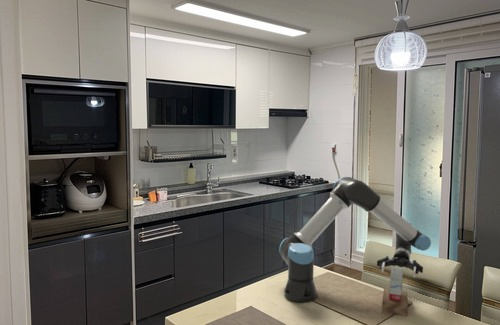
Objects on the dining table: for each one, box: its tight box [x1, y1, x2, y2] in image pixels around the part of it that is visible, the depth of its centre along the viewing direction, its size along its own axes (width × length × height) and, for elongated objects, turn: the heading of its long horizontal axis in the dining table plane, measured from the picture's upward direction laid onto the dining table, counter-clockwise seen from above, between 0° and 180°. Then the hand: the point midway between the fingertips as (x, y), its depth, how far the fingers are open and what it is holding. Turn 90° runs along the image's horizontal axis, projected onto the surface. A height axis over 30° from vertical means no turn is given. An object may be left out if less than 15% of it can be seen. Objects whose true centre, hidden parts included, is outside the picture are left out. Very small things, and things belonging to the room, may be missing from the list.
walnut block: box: [381, 288, 409, 317], centre depth 169 cm, size 10×14×5 cm
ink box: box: [389, 266, 404, 301], centre depth 168 cm, size 9×5×12 cm, turn 156°
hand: (397, 272), depth 174 cm, fingers open, 13 cm apart
